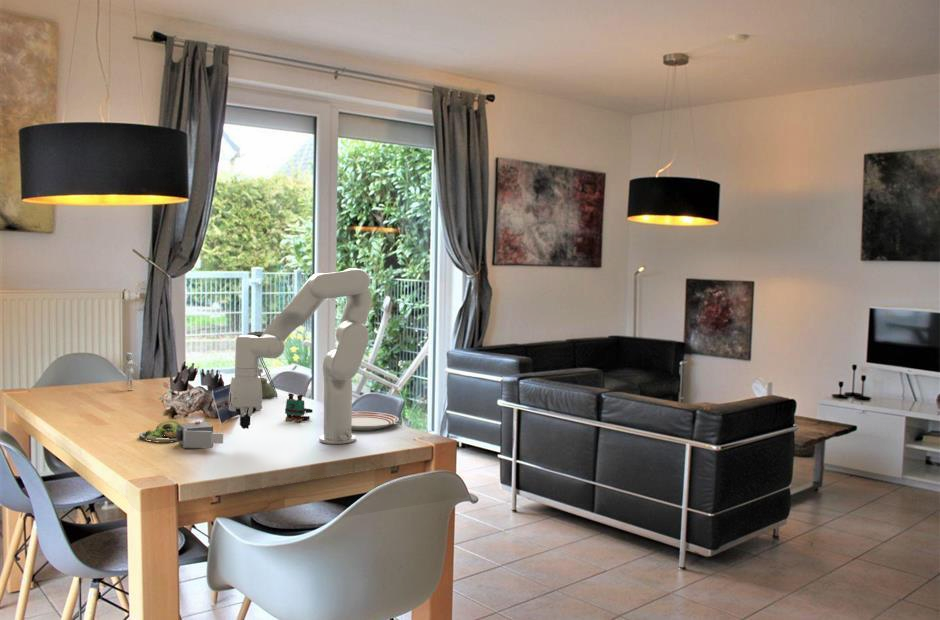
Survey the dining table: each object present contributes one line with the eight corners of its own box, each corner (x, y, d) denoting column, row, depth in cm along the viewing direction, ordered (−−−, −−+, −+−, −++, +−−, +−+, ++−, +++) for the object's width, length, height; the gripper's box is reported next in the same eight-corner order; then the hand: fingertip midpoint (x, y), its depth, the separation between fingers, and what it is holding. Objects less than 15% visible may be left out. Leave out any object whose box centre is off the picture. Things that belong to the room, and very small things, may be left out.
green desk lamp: (238, 393, 359) (238, 330, 357) (277, 392, 364) (277, 329, 362) (237, 401, 339) (237, 333, 338) (277, 400, 344) (278, 333, 342)
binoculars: (316, 394, 303) (300, 395, 294) (315, 421, 303) (298, 422, 294) (299, 392, 307) (282, 393, 298) (297, 418, 307) (280, 420, 298)
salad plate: (211, 438, 268) (211, 425, 268) (165, 447, 253) (165, 433, 253) (178, 430, 279) (177, 418, 279) (132, 439, 264) (132, 425, 264)
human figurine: (117, 392, 357) (117, 353, 356) (114, 391, 360) (114, 353, 359) (143, 389, 365) (143, 352, 364) (140, 388, 368) (140, 351, 367)
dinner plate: (400, 419, 306) (400, 410, 306) (396, 434, 279) (396, 424, 279) (331, 418, 305) (331, 410, 305) (320, 433, 278) (320, 424, 278)
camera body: (213, 445, 255) (212, 424, 255) (180, 449, 250) (180, 427, 249) (206, 440, 263) (206, 419, 262) (175, 443, 257) (175, 422, 257)
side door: (222, 449, 248) (221, 431, 248) (183, 447, 249) (182, 429, 249) (223, 448, 249) (223, 430, 249) (184, 447, 250) (184, 429, 250)
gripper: (265, 370, 260) (264, 424, 260) (220, 371, 252) (219, 427, 253) (272, 373, 253) (270, 428, 254) (226, 374, 246) (224, 431, 246)
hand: (244, 427), depth 253 cm, fingers closed
